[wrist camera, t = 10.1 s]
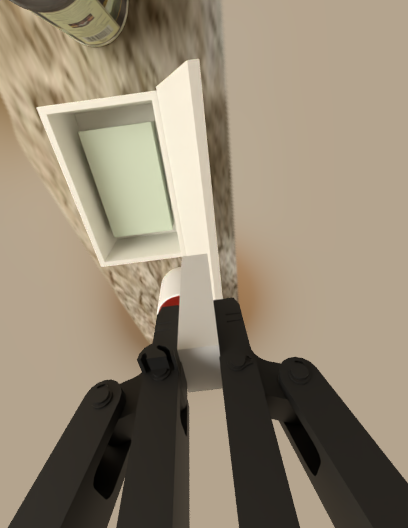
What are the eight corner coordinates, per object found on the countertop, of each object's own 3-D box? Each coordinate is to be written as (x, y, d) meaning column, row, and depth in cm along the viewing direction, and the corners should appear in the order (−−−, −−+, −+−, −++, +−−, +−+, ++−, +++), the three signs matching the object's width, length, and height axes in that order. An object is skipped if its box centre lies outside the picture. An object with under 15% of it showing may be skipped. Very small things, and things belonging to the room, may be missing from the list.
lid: (217, 317, 27) (225, 315, 28) (187, 60, 15) (200, 58, 16) (186, 258, 39) (192, 257, 39) (156, 86, 27) (163, 86, 27)
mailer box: (115, 241, 47) (101, 266, 40) (69, 108, 36) (36, 107, 28) (186, 232, 47) (186, 256, 39) (163, 95, 35) (156, 90, 28)
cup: (203, 302, 57) (205, 336, 48) (160, 298, 55) (154, 331, 47) (211, 266, 52) (216, 297, 43) (164, 260, 50) (159, 290, 42)
